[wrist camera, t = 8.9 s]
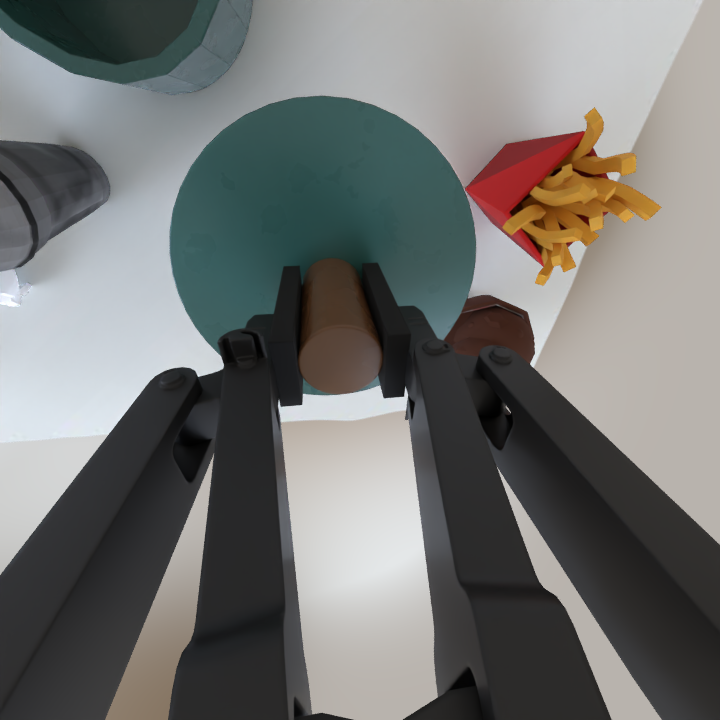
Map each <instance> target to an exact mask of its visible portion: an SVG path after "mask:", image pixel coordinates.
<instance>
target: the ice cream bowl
mask: <svg viewBox="0 0 720 720" xmlns="http://www.w3.org/2000/svg"><path fill="white" fill-rule="evenodd" d="M533 340H534V335H533V331H532V328H531V324H530V320H529V316H528V312H526V311H524V310H522V309H520V308H518V307H516V306H513V305H511V304H509V303H506V302H504V301H502V300H499V299H497V298H495V297H493V296H490V295H480V296H476V297H472V298H468V299H467V300H466V302H465V304H464V307H463V309H462V311H461V313H460V315H459V317H458V319H457V320H456V322H455V324H454V326H453V327H452V329H451V330H450V332H449V333H448V334H447V336H446V337H445V338H444V341H446V342H448V343H449V344H451V346H452V347H453V348H454V351H455V353H458V354H463V355H470V356H478V355H479V352H480V350H481V349H482V348H483V347H486V346H489V345H498V346H504V347H507V348H509V349H512V350H514V351H515V352H516V353H518V354H519V355H520V356H521V357H522V358H523V359H524V360H525V361H527V362H528V363H529V364H530V362H531V360H532V358H533V356H534V354H535V348H534V345H535V343H534V341H533Z"/></svg>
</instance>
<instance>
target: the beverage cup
mask: <svg viewBox="0 0 720 720" xmlns="http://www.w3.org/2000/svg"><path fill="white" fill-rule="evenodd" d="M109 195H110V185H109V182H108V179H107V176H106V174H105V173H104V171H103V169H102V168H101V166H100V165H99V164H98V163H97V162H96V161H95V160H94V159H93V158H92V157H90V156H89V155H87V154H86V153H85V152H83V151H81V150H78V149H76V148H74V147H68V146H60V145H54V144H45V143H31V142H17V141H3V140H0V272H1V271H6V270H10V269H15V268H19V267H22V266H23V265H24V264H26V263H27V262H28V261H29V260H31V259H32V258H33V257H34V255H35V253H36V252H37V251H39V250H40V249H41V248H42V247H43V246H44V245H45V244H46V243H47V241H48V240H50V239H51V238H53V237H55V236H56V235H58V234H59V233H61V232H62V231H64V230H66V229H67V228H69V227H70V226H72V225H73V224H75V223H77V222H78V221H80V220H81V219H83V218H84V217H86V216H88V215H89V214H91V213H92V212H94V211H95V210H96V209H97V208H99V207H100V206H101V205H102V204H104V203H105V202H106V201H107V199H108V197H109Z"/></svg>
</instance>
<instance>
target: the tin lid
mask: <svg viewBox="0 0 720 720" xmlns="http://www.w3.org/2000/svg"><path fill="white" fill-rule="evenodd" d="M475 258H476V238H475V229H474V221H473V217H472V213H471V209H470V205H469V202H468V199H467V197H466V194H465V192H464V189H463V187H462V184H461V182H460V180H459V179H458V177H457V175H456V174H455V172H454V170H453V168H452V167H451V165H450V163H449V162H448V161H447V160H446V158H445V157H444V156H443V155H442V153H441V152H440V151H439V150H438V148H437V147H436V146H435V145H434V144H433V143H432V142H431V141H430V140H429V139H428V138H426V137H425V136H424V135H423V134H422V133H421V132H420V131H419V130H418V129H416V128H415V127H413V126H412V125H410V124H409V123H407V122H406V121H404V120H403V119H401V118H400V117H398V116H397V115H395V114H392V113H390V112H388V111H386V110H383V109H381V108H379V107H377V106H375V105H372V104H368V103H364V102H361V101H357V100H353V99H349V98H341V97H331V96H310V97H296V98H292V99H288V100H284V101H280V102H276V103H272V104H268V105H266V106H264V107H262V108H259V109H257V110H255V111H253V112H250V113H248V114H246V115H244V116H243V117H241V118H240V119H238V120H237V121H235V122H234V123H232V124H231V125H229V126H228V127H226V128H225V129H224V130H223V131H221V132H220V133H219V134H218V135H217V136H216V137H215V138H214V139H213V140H212V141H211V142H210V143H209V144H208V145H207V146H206V147H205V148H204V149H203V151H202V152H201V154H200V155H199V156H198V158H197V159H196V160H195V162H194V163H193V164H192V166H191V167H190V169H189V171H188V173H187V175H186V177H185V179H184V181H183V183H182V185H181V187H180V190H179V193H178V196H177V199H176V202H175V205H174V208H173V213H172V220H171V226H170V259H171V266H172V273H173V277H174V280H175V284H176V287H177V291H178V294H179V296H180V299H181V301H182V303H183V305H184V308H185V310H186V312H187V314H188V315H189V317H190V319H191V320H192V322H193V324H194V325H195V327H196V328H197V330H198V331H199V332H200V334H201V335H202V336H203V337H204V339H205V340H206V341H207V342H208V343H209V344H210V345H211V346H212V347H213V349H214V350H215V351H216V352H217V353H218V354H219V355H221V354H220V351H219V347H218V344H217V342H218V340H219V338H220V337H221V336H223V335H224V334H225V333H228V332H230V331H232V330H236V329H241V328H245V327H246V324H247V321H248V320H249V319H251V318H252V317H253V316H254V315H260V314H274V310H275V305H276V300H277V295H278V291H279V286H280V281H281V276H282V271H283V266H300V272H301V281H302V297H301V313H300V329H299V344H298V366H299V371H300V373H301V375H302V377H303V394H312V395H340V394H347V393H354V392H359V391H363V390H367V389H370V388H373V387H376V386H379V385H380V382H379V378H378V374H379V372H380V370H381V368H382V365H383V349H382V346H381V343H380V339H379V336H378V333H377V330H376V327H375V323H374V320H373V317H372V314H371V311H370V308H369V304H368V301H367V298H366V295H365V292H364V288H363V285H362V263H378V264H379V266H380V268H381V270H382V273H383V275H384V277H385V279H386V281H387V283H388V285H389V288H390V290H391V292H392V294H393V296H394V298H395V300H396V302H397V305H398V306H412V305H414V306H415V307H417V308H418V309H420V310H421V311H422V312H423V314H424V315H425V317H426V319H427V321H428V322H429V324H430V326H431V327H432V329H433V331H434V333H435V334H436V336H437V338H438V339H441V340H444V338H445V337H446V336H447V334H448V333H449V332H450V330H451V329H452V327H453V326H454V324H455V322H456V320H457V319H458V317H459V315H460V313H461V311H462V309H463V307H464V304H465V302H466V300H467V297H468V294H469V290H470V287H471V284H472V280H473V274H474V268H475Z"/></svg>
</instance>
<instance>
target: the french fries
mask: <svg viewBox="0 0 720 720" xmlns="http://www.w3.org/2000/svg"><path fill="white" fill-rule="evenodd" d="M584 117H585V119H586V121H587V129H586V131H585V132H584V131H582V132H576V133H570V134H564V135H558V136H552V137H545V138H539V139H533V140H527V141H521V142H515V143H509V144H506V145H505V146H504V147H503V148H502V149H501V151H500V152H499V153H498V154H497V155H496V156H495V157H494V158H493V159H492V160H491V161H490V162H489V164H488V165H487V166H486V167H485V168H484V169H483V170H482V171H481V172H480V173H479V174H478V175H477V177H476V178H475V179H474V180H473V181H472V182H471V183H470V184H469V185H468V186H467V187H466V188H465V190H466V191H467V193H468V194H469V195H470V196H471V197H472V199H473V200H474V201H475V202H476V204H477V205H478V206H479V207H480V209H481V210H482V211H483V212H484V214H485V215H486V216H487V217H488V218H489V220H490V221H491V222H492V223H493V224H494V225H495V226H496V227H497V228H499V229H500V230H501V231H502V232H503V233H504V234H506V235H507V236H508V237H509V238H510V239H512V240H513V241H514V242H515V243H516V244H517V245H519V246H520V247H521V248H522V249H523V250H524V251H526V252H527V253H528V254H529V255H530V256H531V257H533V258H534V259H535V260H536V261H537V262H539V263H540V264H541V265H542V266H543V269H542V270H541V271H540V272H539V274H538V276H537V279H536V281H535V283H536V284H539V285H543V286H544V284H545V283H546V281H547V280H548V279H549V277H550V275H551V273H552V270H553V268H554V266H558V265H561V267H562V270H563V272H566V271H568V270H570V269H572V268H575V267H576V264H575V262H574V260H573V258H572V256H571V254H570V252H569V249H568V246H570V245H571V244H572V243H573V242H574V241H581V242H582V243H583V244H584V245H585V246H588V245H589V244H591V243H592V242H593V241H594V240H595V239H596V238H598V237H599V235H598V234H596V233H595V232H594V231H596V230H599V229H603V225H604V218H603V216H604V215H606V214H607V213H608V212H611V213H612V214H615V215H617V216H618V217H619V218H620V219H621V220H622V221H623V222H624V223H625V222H627V221H628V220H629V219H631V218H632V217H633V216H634V214H633V213H632V212H630V210H632V211H633V212H635V213H636V214H637V215H638V216H640V217H641V218H642V219H644V220H645V221H646V220H648V219H649V218H651V217H652V216H653V215H654V214H655V213H656V212H657V211H658V210H659V209H660V208H661V206H659V205H658V204H656V203H655V202H654V201H652V200H651V199H649V198H648V197H646V196H645V195H643V194H641V193H640V192H638V191H636V190H635V189H633V188H631V187H629V186H627V185H624V184H621V183H618V182H616V181H613V180H609V178H608V176H607V174H606V173H609V172H619V173H621V176H624V175H627V174H631V173H634V172H636V155H635V154H633V153H625V154H620V155H615V156H611V157H608V158H600V157H597V155H596V153H595V151H594V149H593V146H594V145H595V144H596V142H597V140H598V139H599V137H600V135H601V133H602V131H603V126H604V122H603V119H602V117H601V116H600V114H599V113H598V111H597V110H596V109H595V107H594V108H593V109H592V110H591V111H590V112H589V113H588V114H586V115H585V116H584ZM626 207H627V208H626ZM629 209H630V210H629Z"/></svg>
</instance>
